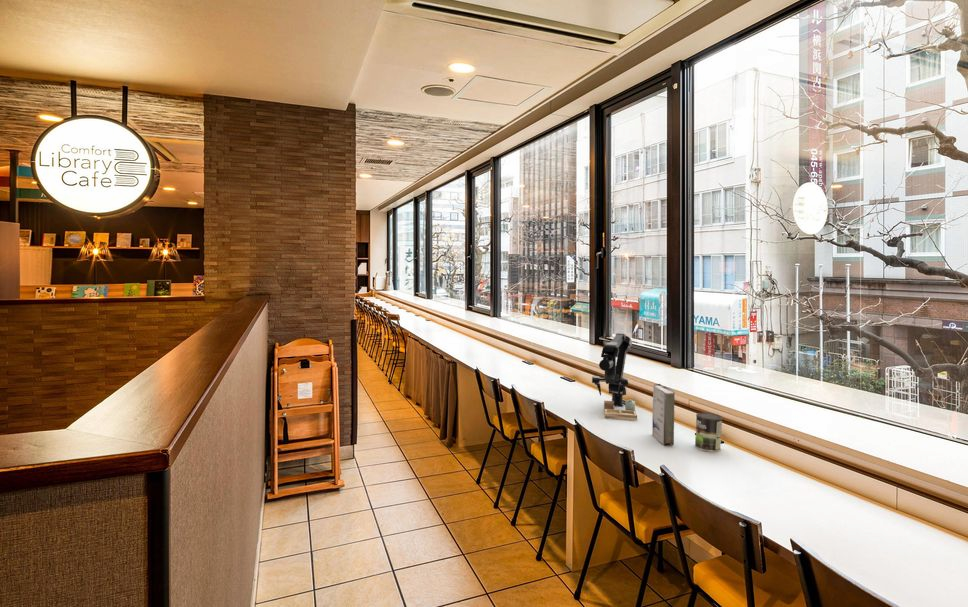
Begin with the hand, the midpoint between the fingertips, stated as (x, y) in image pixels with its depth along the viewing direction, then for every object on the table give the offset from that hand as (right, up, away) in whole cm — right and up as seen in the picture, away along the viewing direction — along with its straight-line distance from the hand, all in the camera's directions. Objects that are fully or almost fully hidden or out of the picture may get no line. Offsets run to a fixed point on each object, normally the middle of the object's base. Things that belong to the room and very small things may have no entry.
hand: (609, 396), depth 275 cm
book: (+13, -12, -46) cm, 49 cm away
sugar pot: (+11, -8, -2) cm, 14 cm away
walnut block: (0, -8, 0) cm, 8 cm away
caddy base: (+3, -9, -10) cm, 14 cm away
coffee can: (+29, -13, -55) cm, 63 cm away
